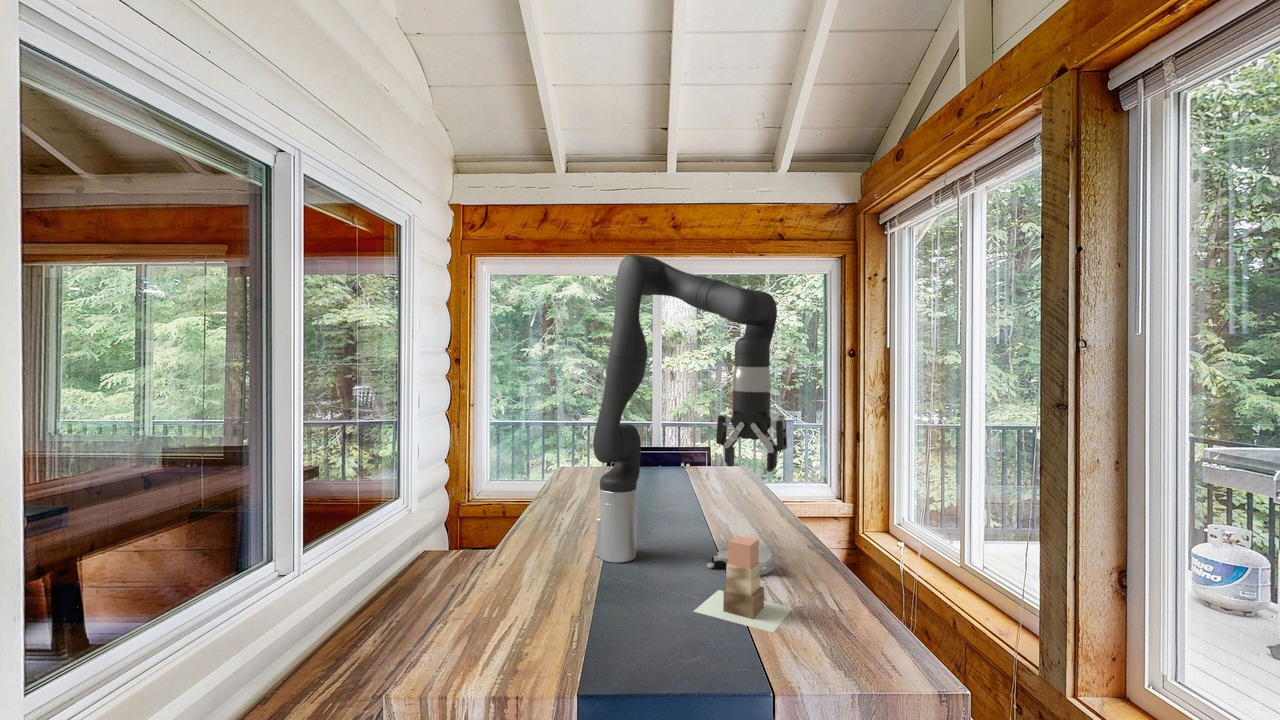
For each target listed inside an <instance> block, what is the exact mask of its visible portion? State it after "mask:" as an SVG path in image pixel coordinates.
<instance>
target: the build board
mask: <svg viewBox="0 0 1280 720" xmlns="http://www.w3.org/2000/svg"><path fill="white" fill-rule="evenodd" d="M723 600H724V590H720V589H717V591H716V592H714V593H713V594H712V595H710V596H709V597H708V599H706V600H705V601H704V602H702V603H701V604H700V605H699V606H697V607H696V608H695V609H694V610H693V612H694V613H697V614H701V615H704V616H708V617H712V618H716V619H721V620H723V621H728V622H731V623H734V624H738V625H742V626H747V627H750V628H754V629H757V630H762V631H765V632H769V633H773V634H774V633H775V632H776V630H778V628H779V627H780V625H781V624H782V623H783V621H785V619H786V618H787V616H788V615H789V614H790V613H791V612H792V611H793V609H794V607H792V606H788V605H784V604H779V603H775V602H771V601H768V600H764V608H763V609H762V610H761V611H760V612H759V613H758V614H757V615H756V616H755V618H754V619H750V618H746V617H742V616H738V615H735V614H731V613H727V612H723Z"/></svg>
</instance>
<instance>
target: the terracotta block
mask: <svg viewBox="0 0 1280 720" xmlns="http://www.w3.org/2000/svg"><path fill="white" fill-rule="evenodd" d="M759 540H760V539H758V538H755V537H754V538H753V537H748V536H742V535H738V534H737V535H736V536H734V537H733V538H731V539H730V540H729V541H728V544H727V546H728V547H727V548H728V549H727V550H728V565H732V566H737V567H742V568H747V569H751V568H752V567H753V566H755V565H756V564H757V563H758V562H759V550H760V548H759V547H760V543H759V542H760V541H759Z"/></svg>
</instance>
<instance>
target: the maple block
mask: <svg viewBox="0 0 1280 720" xmlns="http://www.w3.org/2000/svg"><path fill="white" fill-rule="evenodd" d="M725 568H726V571H725V572H726V573H725V575H726V579H725V580H726V584H725V586H726V588H725V589H726V591H730V592H734V593H738V594H742V595H747V596H752V595H753V594H754V593H755V592H756V591H757V590H758V589H759V588H760V586H761V576H760V562H758V563H757V564H756V565H755V566H753V567H752V568H751V569H747V568H742V567H737V566H732V565H728V564H727V565H726V567H725Z"/></svg>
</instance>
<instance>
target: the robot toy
mask: <svg viewBox="0 0 1280 720" xmlns="http://www.w3.org/2000/svg"><path fill="white" fill-rule="evenodd" d="M776 552H777V550H771V551H770V550H767V549H759V562H760V577H761V576H765V575H767V574H769V573H770V572H771V571H773V570H774V569H775V567H776V565H775V564H776V561H775V554H774V553H776ZM711 561H712V562H708V563H707V564H706V567H707V568H708V569H713V568H714V570H723V569H725V568H726V565H727V564H728V549H723V550H719V551H717V552H715V553H714V554H713V555H712V556H711Z"/></svg>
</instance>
